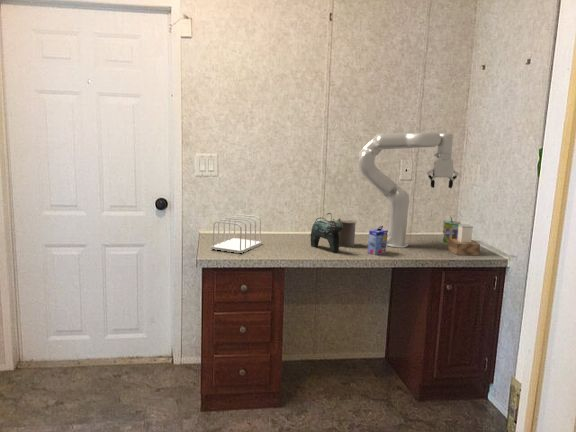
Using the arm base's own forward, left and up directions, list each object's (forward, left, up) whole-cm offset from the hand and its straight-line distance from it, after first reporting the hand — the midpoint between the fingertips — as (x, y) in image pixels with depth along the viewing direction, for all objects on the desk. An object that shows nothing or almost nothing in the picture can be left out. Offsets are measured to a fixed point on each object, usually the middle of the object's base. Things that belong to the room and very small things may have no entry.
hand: (441, 187), depth 275 cm
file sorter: (-110, -10, -34) cm, 116 cm away
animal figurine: (-64, -11, -34) cm, 73 cm away
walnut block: (+11, -11, -33) cm, 37 cm away
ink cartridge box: (-37, -16, -34) cm, 52 cm away
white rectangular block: (+11, -11, -27) cm, 31 cm away
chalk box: (+14, +16, -34) cm, 40 cm away
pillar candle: (-51, 0, -34) cm, 61 cm away
